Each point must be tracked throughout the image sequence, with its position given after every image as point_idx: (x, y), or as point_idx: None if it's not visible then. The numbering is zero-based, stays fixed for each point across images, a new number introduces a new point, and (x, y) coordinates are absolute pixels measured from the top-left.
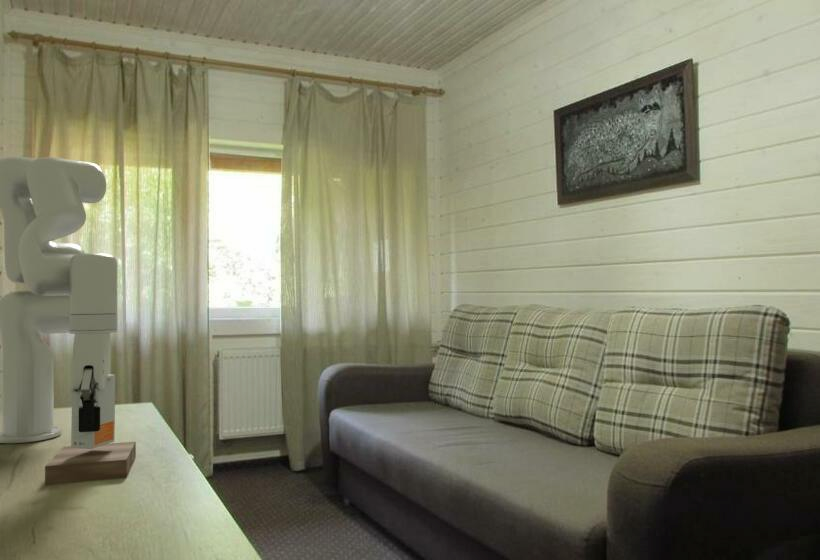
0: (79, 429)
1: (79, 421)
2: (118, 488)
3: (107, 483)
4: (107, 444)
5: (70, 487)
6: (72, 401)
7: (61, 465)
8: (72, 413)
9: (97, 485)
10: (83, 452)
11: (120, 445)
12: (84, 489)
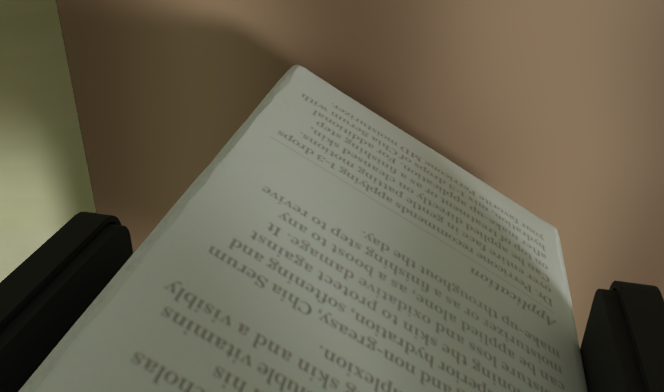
0: (72, 225)
1: (15, 276)
2: (4, 250)
3: (91, 210)
4: (655, 279)
5: (46, 42)
6: (26, 387)
7: (58, 4)
8: (142, 245)
9: (64, 169)
10: (429, 121)
11: None
12: (3, 115)
